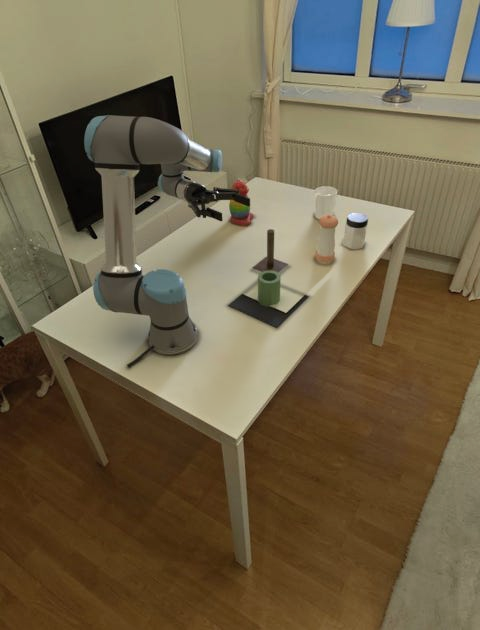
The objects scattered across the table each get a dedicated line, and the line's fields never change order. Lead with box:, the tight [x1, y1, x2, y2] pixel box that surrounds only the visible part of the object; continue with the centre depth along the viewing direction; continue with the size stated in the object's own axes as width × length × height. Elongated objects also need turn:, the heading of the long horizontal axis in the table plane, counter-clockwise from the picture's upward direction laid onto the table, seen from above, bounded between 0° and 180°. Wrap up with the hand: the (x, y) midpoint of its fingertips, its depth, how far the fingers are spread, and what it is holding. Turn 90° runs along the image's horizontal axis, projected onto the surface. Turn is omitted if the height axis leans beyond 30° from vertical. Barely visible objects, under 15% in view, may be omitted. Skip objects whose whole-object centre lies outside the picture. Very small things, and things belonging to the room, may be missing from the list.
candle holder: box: [314, 185, 338, 220], centre depth 193 cm, size 10×10×12 cm
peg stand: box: [252, 228, 289, 274], centre depth 160 cm, size 10×10×16 cm
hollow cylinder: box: [257, 270, 282, 307], centre depth 146 cm, size 7×7×10 cm
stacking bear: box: [228, 179, 254, 227], centre depth 190 cm, size 11×10×18 cm
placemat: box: [228, 293, 309, 329], centre depth 150 cm, size 20×20×1 cm
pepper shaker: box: [314, 214, 339, 263], centre depth 163 cm, size 7×7×19 cm
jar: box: [342, 212, 369, 250], centre depth 173 cm, size 9×8×12 cm
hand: (235, 209), depth 143 cm, fingers open, 13 cm apart
